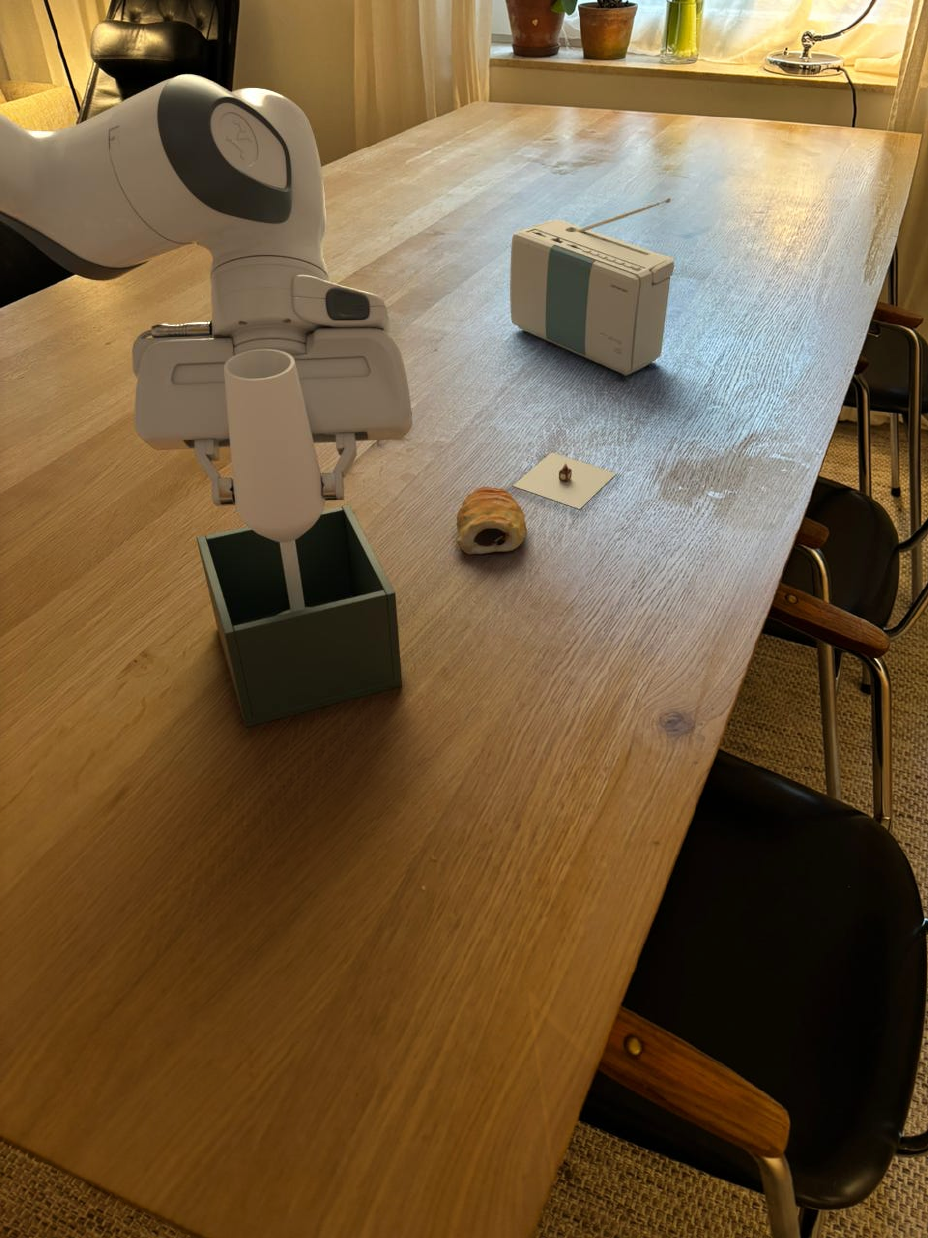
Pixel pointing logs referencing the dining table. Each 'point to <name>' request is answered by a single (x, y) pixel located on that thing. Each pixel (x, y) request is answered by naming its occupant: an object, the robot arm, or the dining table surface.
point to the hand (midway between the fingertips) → (280, 501)
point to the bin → (303, 618)
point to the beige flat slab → (565, 480)
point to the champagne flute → (273, 455)
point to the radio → (590, 292)
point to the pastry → (490, 522)
